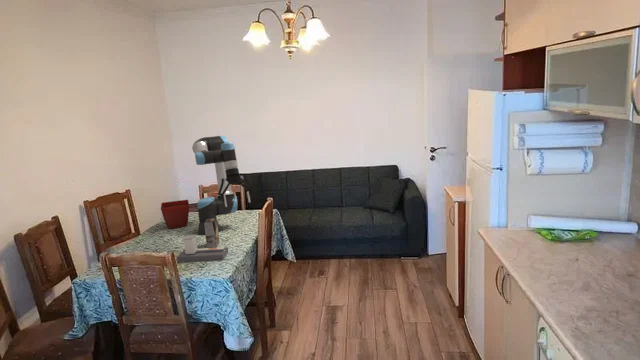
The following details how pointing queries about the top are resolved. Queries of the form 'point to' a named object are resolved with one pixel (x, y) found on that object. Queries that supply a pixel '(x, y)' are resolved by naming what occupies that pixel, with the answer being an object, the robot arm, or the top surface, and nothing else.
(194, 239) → the switch tab
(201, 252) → the switch deck
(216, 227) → the coffee box
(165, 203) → the plant pot
